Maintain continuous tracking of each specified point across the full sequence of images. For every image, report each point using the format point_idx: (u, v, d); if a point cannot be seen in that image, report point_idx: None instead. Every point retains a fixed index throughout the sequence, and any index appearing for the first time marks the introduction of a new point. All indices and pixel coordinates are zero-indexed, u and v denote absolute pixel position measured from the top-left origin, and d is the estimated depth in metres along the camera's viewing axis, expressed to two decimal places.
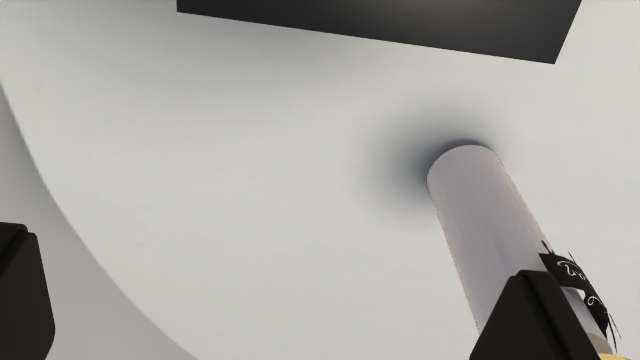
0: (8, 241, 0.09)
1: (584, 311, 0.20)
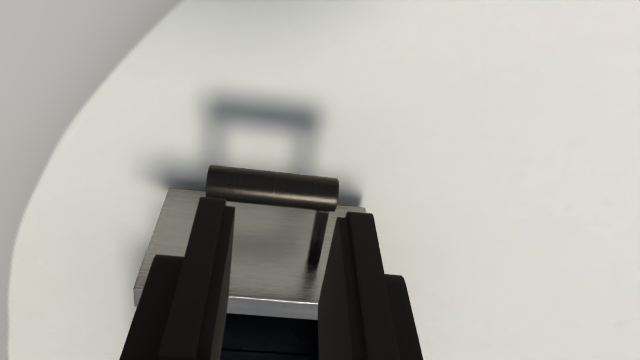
0: (223, 213, 0.10)
1: None
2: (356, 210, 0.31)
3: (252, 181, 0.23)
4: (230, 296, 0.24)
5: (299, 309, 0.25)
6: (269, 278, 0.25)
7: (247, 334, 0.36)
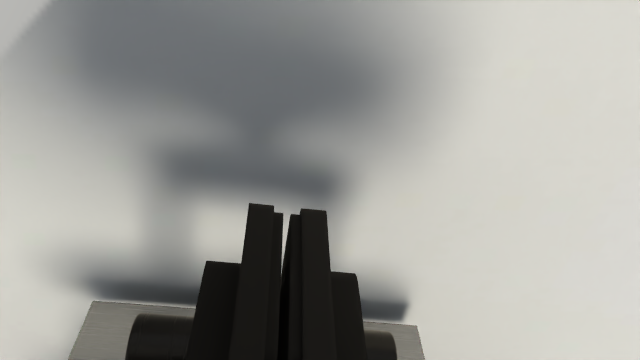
0: (273, 220, 0.10)
1: None
2: (403, 332, 0.19)
3: None
4: None
5: None
6: None
7: None
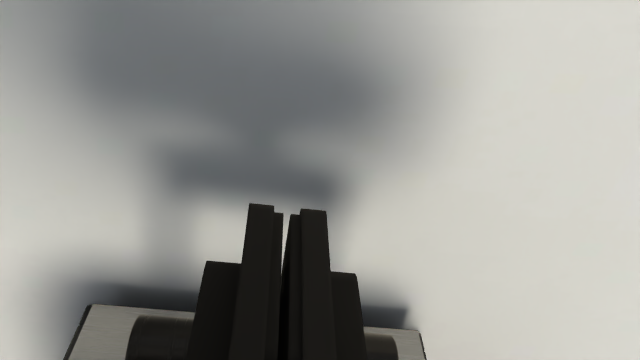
0: (273, 219, 0.10)
1: None
2: (405, 337, 0.19)
3: None
4: None
5: None
6: None
7: None
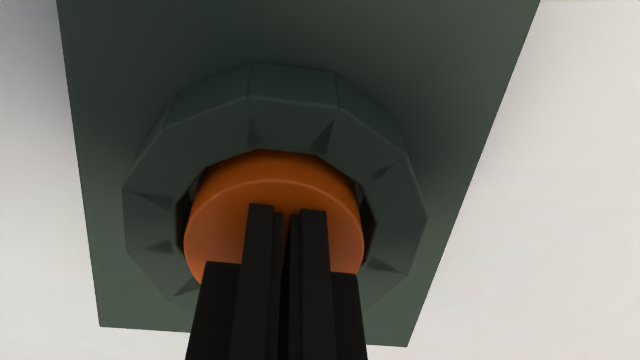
0: (273, 219, 0.10)
1: None
2: None
3: None
4: None
5: None
6: None
7: None
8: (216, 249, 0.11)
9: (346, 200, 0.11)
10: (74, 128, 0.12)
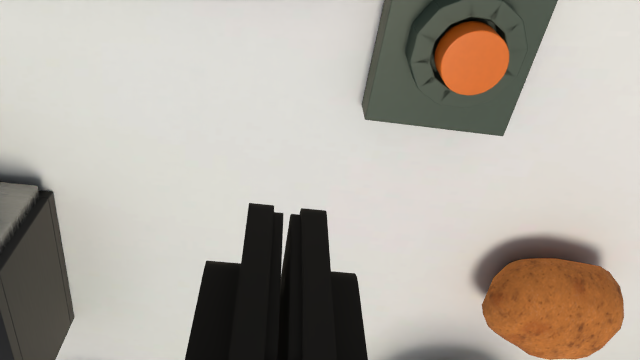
0: (273, 219, 0.10)
1: None
2: (27, 187, 0.39)
3: None
4: None
5: None
6: None
7: None
8: (453, 61, 0.30)
9: (504, 41, 0.30)
10: (388, 15, 0.31)
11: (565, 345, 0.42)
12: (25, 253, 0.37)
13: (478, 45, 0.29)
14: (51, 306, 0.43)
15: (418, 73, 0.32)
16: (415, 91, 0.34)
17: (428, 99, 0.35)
